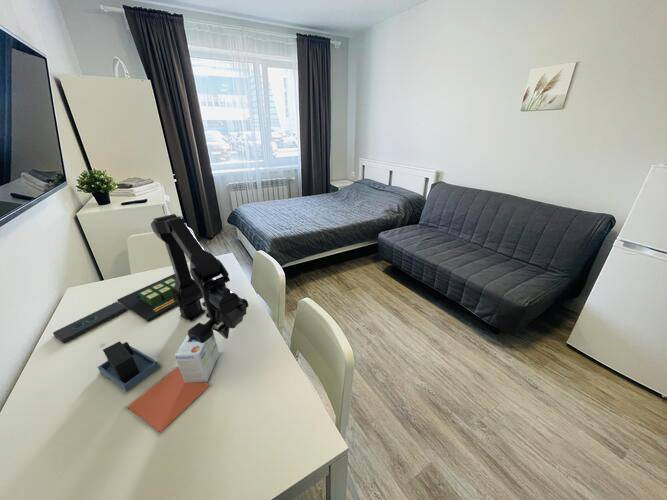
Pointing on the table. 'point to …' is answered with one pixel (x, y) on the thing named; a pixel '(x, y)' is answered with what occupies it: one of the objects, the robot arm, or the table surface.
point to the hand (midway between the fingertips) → (226, 338)
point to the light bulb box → (197, 359)
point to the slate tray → (143, 365)
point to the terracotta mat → (167, 400)
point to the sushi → (152, 299)
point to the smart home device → (89, 322)
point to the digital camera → (122, 361)
